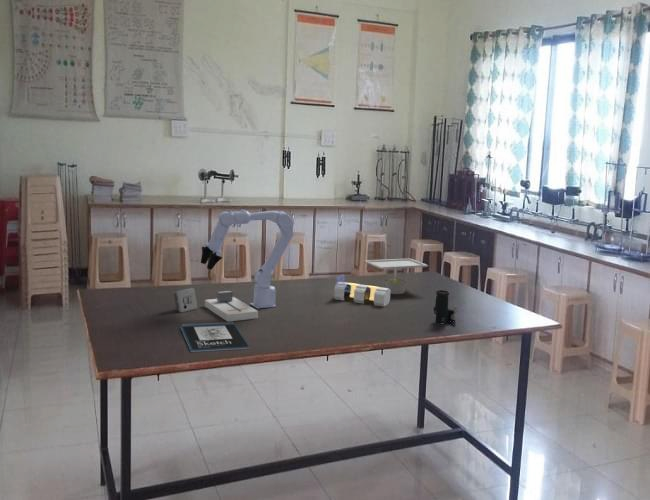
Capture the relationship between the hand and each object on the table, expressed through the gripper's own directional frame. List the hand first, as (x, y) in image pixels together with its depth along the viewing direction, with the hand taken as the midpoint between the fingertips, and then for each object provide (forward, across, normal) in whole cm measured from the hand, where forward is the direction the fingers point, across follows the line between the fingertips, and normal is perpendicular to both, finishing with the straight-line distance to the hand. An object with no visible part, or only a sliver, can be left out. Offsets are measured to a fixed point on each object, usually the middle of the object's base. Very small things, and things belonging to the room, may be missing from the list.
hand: (206, 266), depth 297 cm
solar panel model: (-18, +7, +100) cm, 102 cm away
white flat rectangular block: (+13, +14, +13) cm, 23 cm away
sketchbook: (+18, +43, -7) cm, 47 cm away
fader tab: (+11, +6, +12) cm, 17 cm away
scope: (-19, +60, +86) cm, 106 cm away
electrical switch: (+21, +4, -3) cm, 21 cm away
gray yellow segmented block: (-10, +18, +75) cm, 77 cm away
